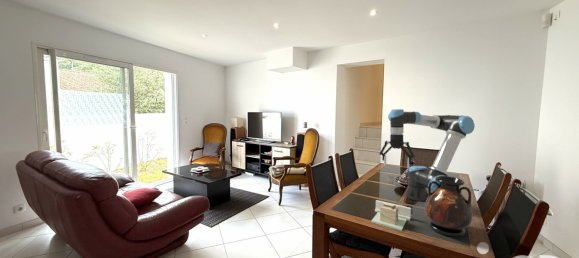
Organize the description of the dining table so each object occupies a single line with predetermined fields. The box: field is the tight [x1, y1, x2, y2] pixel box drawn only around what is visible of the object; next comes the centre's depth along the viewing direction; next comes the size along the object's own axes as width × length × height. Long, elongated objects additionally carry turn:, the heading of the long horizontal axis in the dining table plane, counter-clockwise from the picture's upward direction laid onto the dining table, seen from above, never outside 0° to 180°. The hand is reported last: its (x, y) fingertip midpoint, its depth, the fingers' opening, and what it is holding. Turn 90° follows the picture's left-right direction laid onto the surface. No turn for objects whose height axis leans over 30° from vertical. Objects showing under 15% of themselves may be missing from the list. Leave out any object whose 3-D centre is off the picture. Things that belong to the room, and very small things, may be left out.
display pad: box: [371, 212, 407, 232], centre depth 135 cm, size 14×16×1 cm
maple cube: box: [380, 202, 399, 225], centre depth 134 cm, size 8×8×8 cm
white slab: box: [374, 199, 412, 221], centre depth 143 cm, size 3×20×6 cm, turn 54°
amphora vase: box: [423, 176, 474, 238], centre depth 125 cm, size 22×22×28 cm
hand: (396, 166), depth 149 cm, fingers open, 13 cm apart
